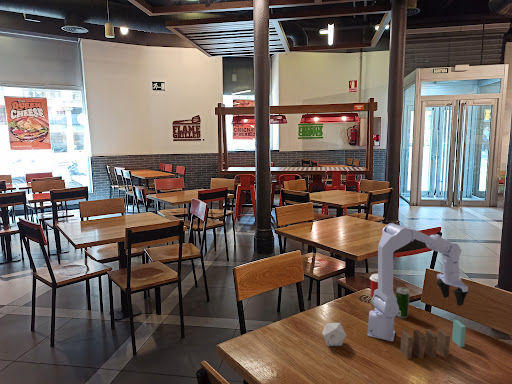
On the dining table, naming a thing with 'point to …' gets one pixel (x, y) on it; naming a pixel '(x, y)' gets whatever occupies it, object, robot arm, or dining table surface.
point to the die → (334, 334)
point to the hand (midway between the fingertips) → (453, 300)
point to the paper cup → (373, 285)
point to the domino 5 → (458, 333)
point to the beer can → (402, 302)
